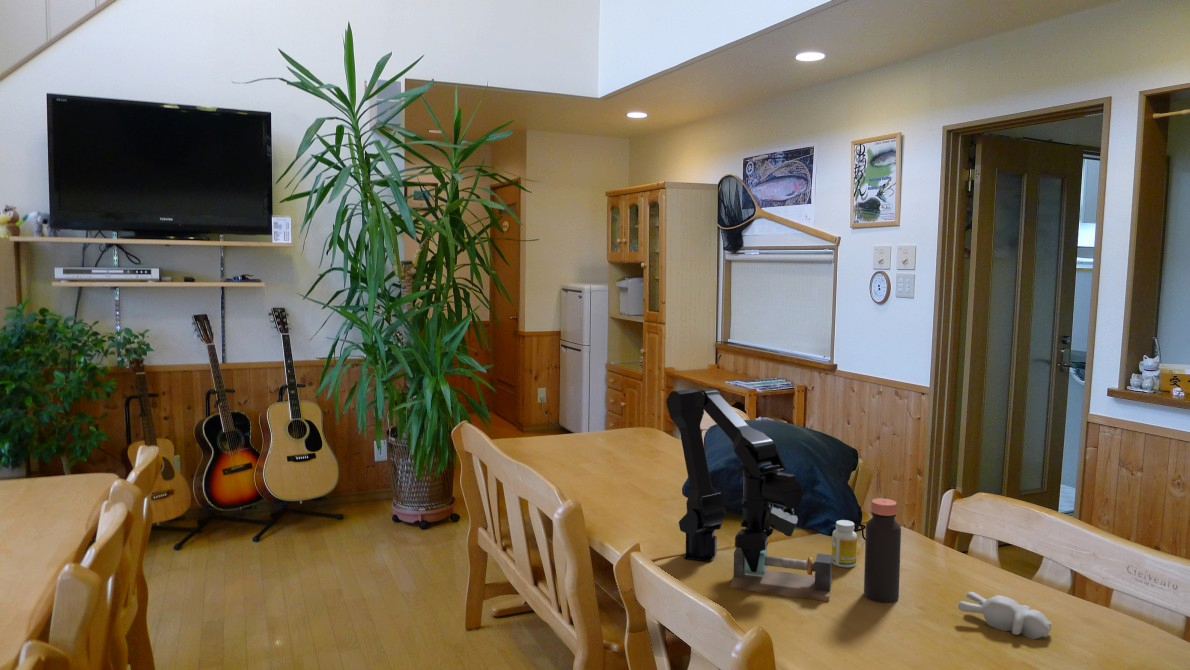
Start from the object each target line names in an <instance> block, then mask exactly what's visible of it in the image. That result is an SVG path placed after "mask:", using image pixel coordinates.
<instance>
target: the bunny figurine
mask: <svg viewBox="0 0 1190 670" xmlns="http://www.w3.org/2000/svg"><path fill="white" fill-rule="evenodd" d="M966 598H967V599H968V600H970V601H973V602H975V603H973V602H968V601H963V600H960V601H959V602H958V606H957V607H958V608H957V609H958V610H959V611H962V612H967V613H975V614H976V613H977V614H982V615H983V618H984V620H985V622H986V624H987V625H988V626H989V627H991V628H995V629H996V630H999V631H1003V632H1009V631H1010V632H1012V635H1017V636H1019V635H1020V634H1022V635H1023V636H1024V637H1026V638H1029V639H1033V640H1037V639H1039V638H1042V637H1044V638H1047V637H1048V635H1049V633H1050V632H1051V629H1052V624H1053V622H1052V621H1049V619H1048V618H1047V617H1046V615H1044V614H1043V613H1042V612H1041V611H1039V610H1037V609H1032V607H1030V606H1028V605H1024V604H1023V605H1022V604H1019V603H1018V601H1016V600H1014V599H1012V598H1011V597H1007V596H1004V595H1000V594H997V595H994V596H991V597H988V598H987V599H986V598H984V597H983V596H981V595H980V594H978V593H977V592H973V591H968V592H966Z"/></svg>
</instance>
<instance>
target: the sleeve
mask: <svg viewBox="0 0 1190 670" xmlns="http://www.w3.org/2000/svg"><path fill="white" fill-rule="evenodd" d="M765 556H768V546H767V547H766V549H765V550H763V551H761V553H760V558H759V563H758V568H757V572H751V570H750V568H749V565H748V563H747V561H746V558H745V573H747V574H755V575H763V576H764V573H765V571H766V570H767V567H768V566H766V565H764V560H765Z"/></svg>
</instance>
